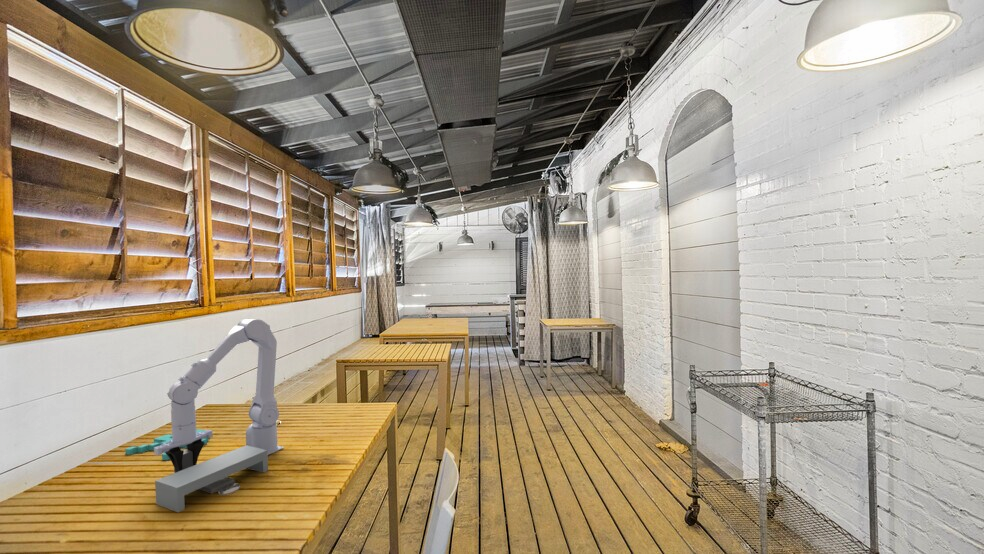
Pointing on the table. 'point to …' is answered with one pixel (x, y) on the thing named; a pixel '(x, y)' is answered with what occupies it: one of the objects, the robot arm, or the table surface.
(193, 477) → the grey bench
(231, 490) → the steel disc
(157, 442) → the alien figure
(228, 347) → the robot arm
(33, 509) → the table surface
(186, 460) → the scraper
